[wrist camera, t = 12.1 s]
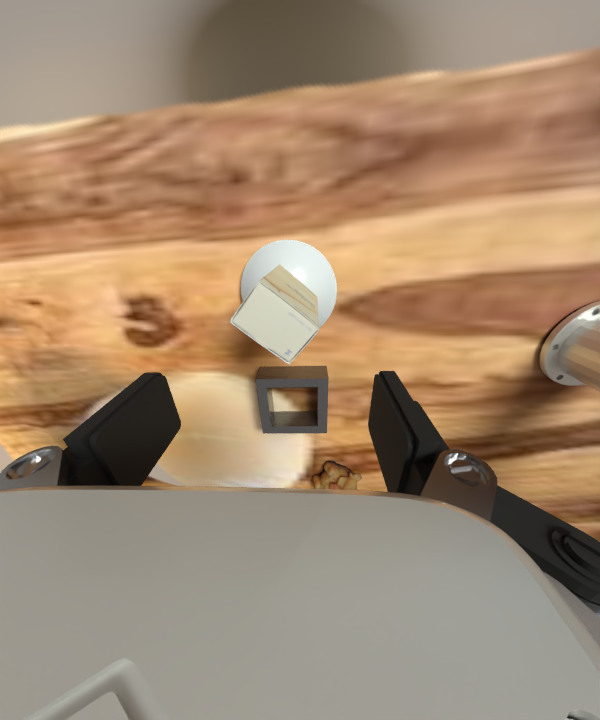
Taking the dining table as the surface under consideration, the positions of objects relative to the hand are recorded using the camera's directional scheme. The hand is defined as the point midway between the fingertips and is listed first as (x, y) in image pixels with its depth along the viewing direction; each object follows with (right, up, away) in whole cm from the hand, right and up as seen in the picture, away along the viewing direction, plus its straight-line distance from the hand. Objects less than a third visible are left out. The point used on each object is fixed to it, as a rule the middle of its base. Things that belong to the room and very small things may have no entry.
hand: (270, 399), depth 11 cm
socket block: (0, -4, +27) cm, 27 cm away
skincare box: (0, +10, +19) cm, 22 cm away
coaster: (0, +11, +20) cm, 22 cm away
